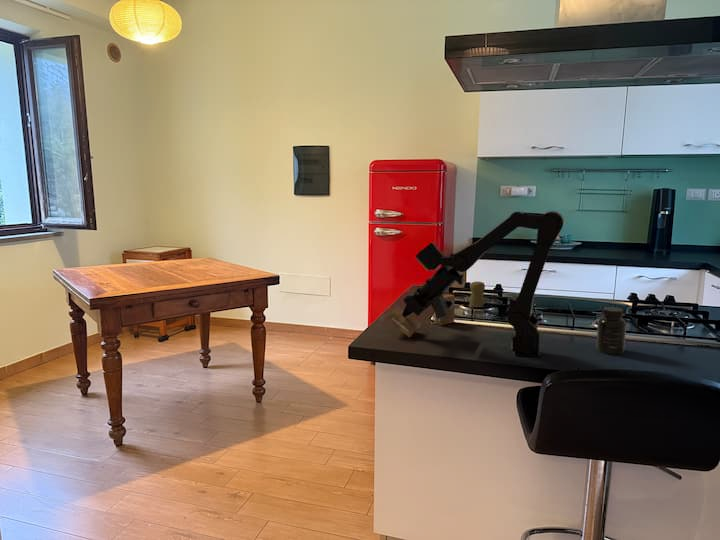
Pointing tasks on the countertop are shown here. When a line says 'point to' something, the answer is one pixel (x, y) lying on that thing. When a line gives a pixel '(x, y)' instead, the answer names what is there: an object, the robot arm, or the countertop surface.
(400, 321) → the block one
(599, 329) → the supplement bottle
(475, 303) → the cork
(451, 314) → the block two
